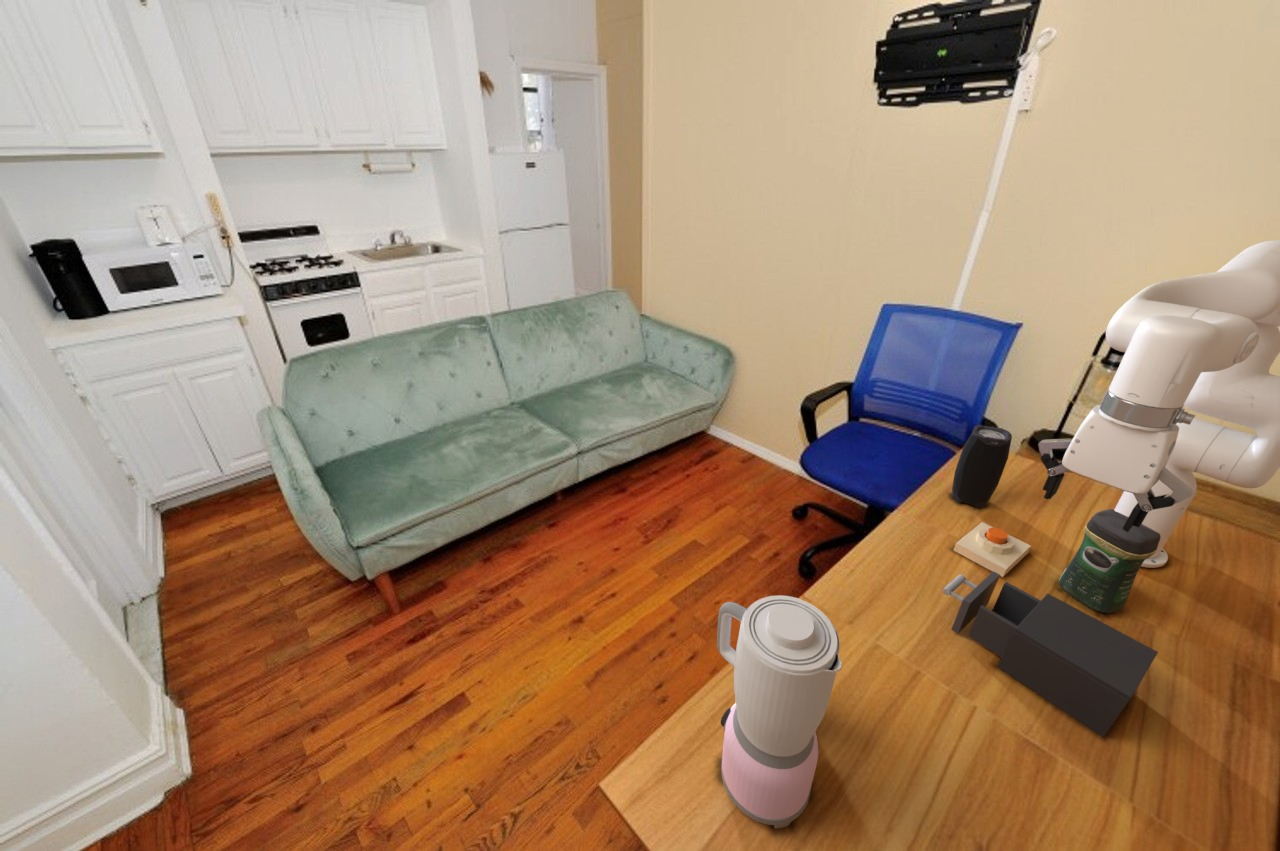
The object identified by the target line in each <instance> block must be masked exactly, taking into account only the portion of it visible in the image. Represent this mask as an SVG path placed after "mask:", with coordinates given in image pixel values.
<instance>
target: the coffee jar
mask: <svg viewBox="0 0 1280 851" xmlns="http://www.w3.org/2000/svg"><path fill="white" fill-rule="evenodd" d="M1127 519H1128V517H1127V516H1125V515H1123V514H1121V513H1118V512H1116V511H1115V510H1114V509H1113V508H1109V509H1104V510H1100V511H1097V512H1095V513H1094V514H1093V516H1091V518H1090V519H1089V521H1088V522H1087V523H1086V525H1085V526H1084V536H1083V539H1082V542H1081V544H1080V546H1079V547H1078V550H1077V552H1076V553H1075V554H1074V556H1073V558H1072V559H1071V560H1070V562H1069V564H1068V565H1067V566H1066V568H1065V569H1064V571H1063V572H1062V573H1061V575H1060V577H1059V580H1058V585H1059V587H1060V588H1061V589H1062V590H1063V591H1064V592H1065V593H1066V594H1068V595H1069V596H1070V597H1071V598H1073V599H1074V600H1076V601H1077V602H1079V603H1080V604H1082V605H1084V607H1087V608H1088V609H1090V610H1092V611H1094V612H1096V613H1102V614H1112V613H1116V612H1118V611H1120V610H1122V609H1123V608H1124V606H1125V604H1126V603H1127V600H1128V598H1129V595H1130V592H1131V590H1132V587H1133V584H1134V582H1135V579H1136V577H1137V575H1138V572H1139V570H1140V569H1141V567H1140V566H1141V565H1142V563H1143V562H1144V560H1145V559H1147V558H1149V557H1151V556H1152V555H1153V554H1154V553H1155V552H1156V550H1157V547H1158V544H1159V541H1160V537H1161V536H1160V534H1159V533H1158V532H1156V531H1154V530H1152V529H1151V528H1148V527H1147V526H1145V525H1143V524H1141V525H1140V527H1136V526H1134V525H1133V526H1132V528H1131V529H1130V530H1129V532H1126V531H1124V529H1122V528H1123V526H1124V525H1125V523H1126V521H1127Z"/></svg>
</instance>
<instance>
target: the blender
mask: <svg viewBox="0 0 1280 851" xmlns="http://www.w3.org/2000/svg"><path fill="white" fill-rule="evenodd" d="M733 618H734V619H735V620H737V621H739V622H740V625H739V626H740V627H739V631H738V637H737V642H736V648H735V649H734V648H733V647H732V646H731V630H732V621H733ZM716 633H717V634H716V645H717V646H716V647H717V650H718V652H719V654H720V655H721V657H722V658H723V659H724V660H725V661H726V662H728V664H730V665H731V666H732V667H733V692H734V700H735V703H734V704H733V705H732V706H731V707H728V708H727V709H726V710H725V711H724V712H723V714H722V716H721V718H720V725H721V726H722V727H723V732H724V735H723V744H722V756H721V765H720V766H721V767H720V771H721V779H722V783H723V786H724V789H725V791H726V793H727V795H728V797H729V798H730V800H731V802H732V803H733V804H734V805H735V806H736V808H737V809H738V810H739V811H740V812H741V813H742V814H744V815H745V816H747V817H748V818H750V819H752V820H753V821H756V822H758V823H760V824H764V825H768V826H773V827H774V829H782V828H786V827H789V826H790V825H791V823H792V822H793V821H795V820H796V819H798V818H799V817H800V816H801V814H803V812H804V811H805V809H806V807H807V805H808V803H809V800H810V798H811V797H810V796H811V792H812V785H813V781H814V778H815V773H816V770H817V765H818V760H819V742H818V737H817V733H816V732H817V729H818V728H819V726H820V724H821V723H822V720H823V719H824V716H825V714H826V712H827V709H828V706H829V703H830V699H831V696H832V691H833V687H834V683H835V680H836V675H837V672H839V671H841V670H842V666H843V663H842V661H841V659H840V648H841V643H840V642H841V641H840V636H839V634H838V631H837V629H836V627H835V625H834V623H833V622H832V621H831V620H830V618H829V617H828V616H827V615H826V613H824V612H823V611H821V610H820V609H819V608H818V607H816V606H815V605H813V604H812V603H810V602H808V601H806V600H803V599H801V598H798V597H795V596H790V595H780V594H779V595H769V596H765V597H762V598H759V599H758V600H755V601H754V602H753V603H751V604H749V606H748V607H747V608H746V607H744V606H742V605H741V604H740V603H737V602H734V601H726V602H724V603H723V604H722V605H721V606H720V607H719V610H718V617H717V632H716Z"/></svg>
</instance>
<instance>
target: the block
mask: <svg viewBox="0 0 1280 851" xmlns="http://www.w3.org/2000/svg"><path fill="white" fill-rule="evenodd" d="M989 528H994V527H993V526H991V525H989V524H987V523H986V522H983V521H981V522H980V523H979V524H977V526H975V527H974V528H973V529H971V530H970V531H969V532H968V533H966V534H965V535H964V536H963V537H962V538H960V539H959V540H958V541H957V542H956V543H955V545H954V548H953V551H954V552H955V553H957V554H960V555H962V556H963V557H964V558H967V559H969V560H971V561H972V562H974V563H976V564H977V565H979V566H981V567H983V568H985V569H986V570H989V571H991V572H993V571H994V572H996V573H998V574H1000V577H1002V578H1004V577H1005V576H1006V574H1008V573H1009V572H1010V571H1011V570H1012V569H1013V568H1015V567H1016V565H1017V564H1019V563H1020V561H1021V560H1023V558H1025V557H1026V556H1027V555H1028V554H1029V551H1030V549H1031V548H1032V545H1030V544H1028V543H1026V542H1024V541H1022V540H1021V539H1018V538H1016V537H1014V536H1012V535H1010V534H1008V537H1007V540H1006V542H1005V544H1002V545H1000V544H996V543H993V542H991V541H989V540H988V539H987V538H986V534H987V531H988V529H989Z"/></svg>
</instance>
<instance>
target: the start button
mask: <svg viewBox="0 0 1280 851" xmlns="http://www.w3.org/2000/svg"><path fill="white" fill-rule="evenodd" d="M1008 535H1009V534H1008V533H1007V532H1006V531H1005V530H1004V529H1002V528H999V527H993V528H989V529H988V531H987V534H986V538H987V539H988V540H989V541H991V542H993V543H996V544H1000V545H1002V544H1005V542H1006V540H1007V537H1008Z"/></svg>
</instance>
